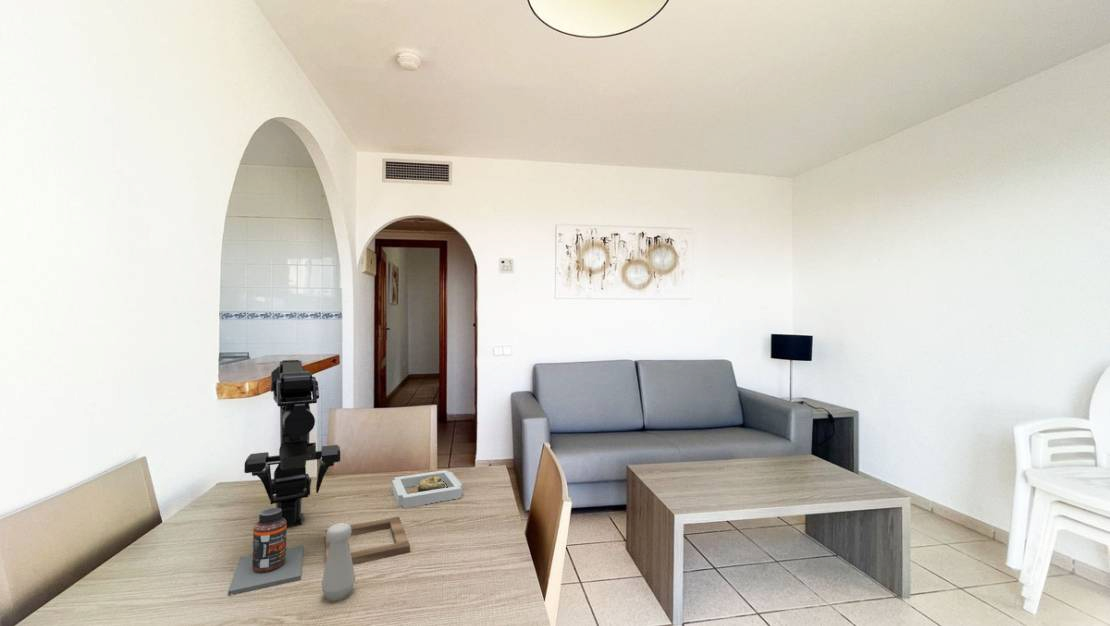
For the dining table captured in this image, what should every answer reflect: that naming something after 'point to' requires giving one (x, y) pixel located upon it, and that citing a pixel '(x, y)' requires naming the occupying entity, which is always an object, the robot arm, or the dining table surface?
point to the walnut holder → (382, 551)
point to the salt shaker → (338, 564)
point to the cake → (431, 484)
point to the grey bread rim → (426, 496)
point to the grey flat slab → (254, 580)
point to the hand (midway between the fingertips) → (294, 495)
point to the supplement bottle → (269, 541)
